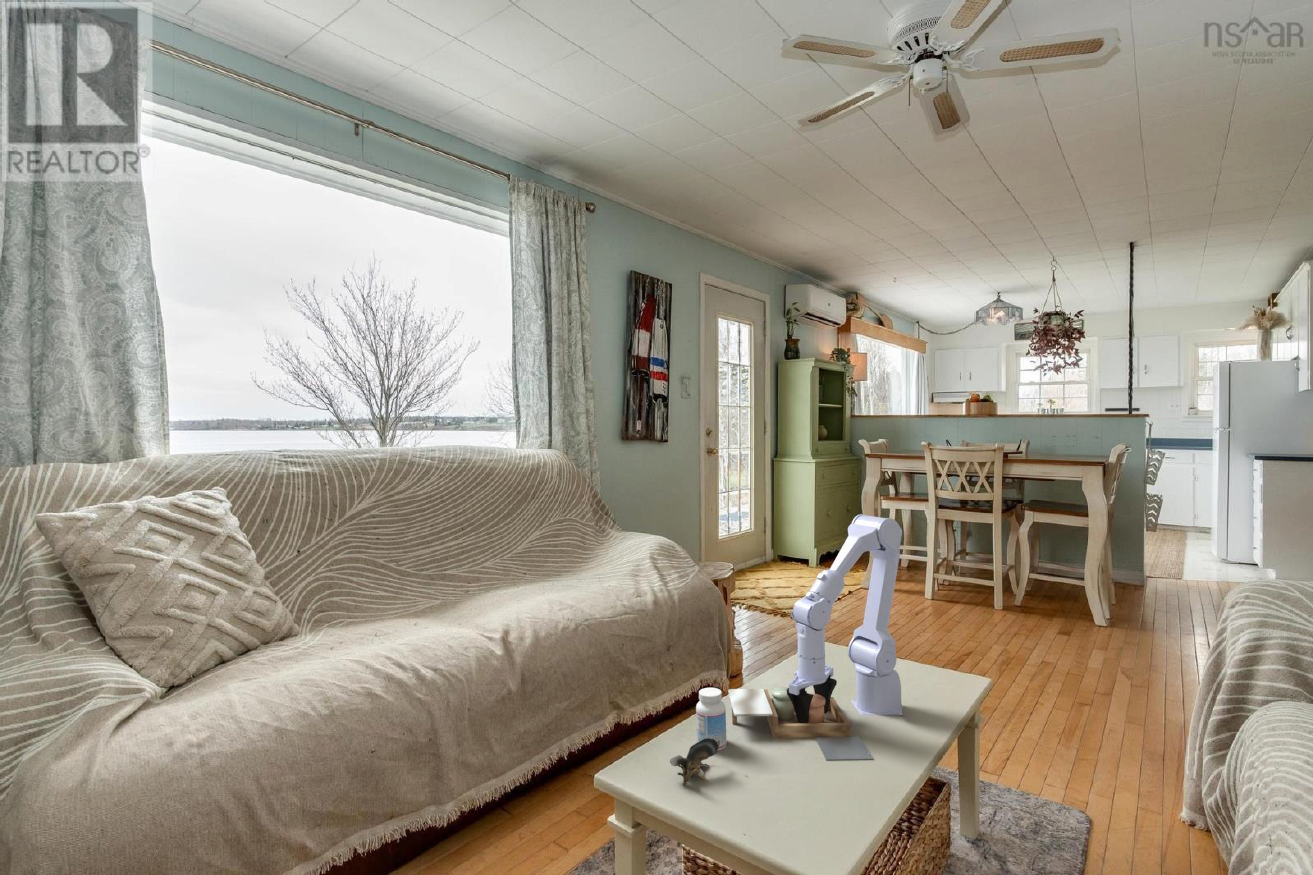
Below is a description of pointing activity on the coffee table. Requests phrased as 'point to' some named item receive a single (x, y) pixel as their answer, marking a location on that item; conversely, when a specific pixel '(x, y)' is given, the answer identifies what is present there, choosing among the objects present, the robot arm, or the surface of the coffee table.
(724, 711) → the pill bottle
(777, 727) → the cold frame
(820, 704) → the peach rounded knob
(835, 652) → the coffee table surface
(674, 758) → the squirrel figurine
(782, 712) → the mint green knob
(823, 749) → the slate tile
